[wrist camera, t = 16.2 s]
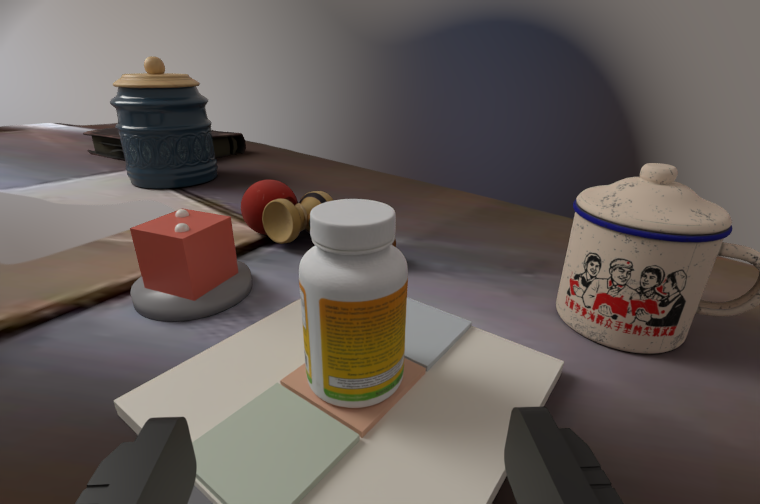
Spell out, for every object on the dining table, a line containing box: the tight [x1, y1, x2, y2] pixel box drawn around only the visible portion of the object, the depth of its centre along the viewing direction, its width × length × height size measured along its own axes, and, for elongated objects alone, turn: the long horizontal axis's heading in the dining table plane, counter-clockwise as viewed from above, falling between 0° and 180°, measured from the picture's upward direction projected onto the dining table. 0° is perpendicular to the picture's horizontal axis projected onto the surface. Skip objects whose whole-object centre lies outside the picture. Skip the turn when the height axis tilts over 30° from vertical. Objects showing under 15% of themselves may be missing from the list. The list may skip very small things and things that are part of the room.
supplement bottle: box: [299, 199, 408, 408], centre depth 22 cm, size 5×5×10 cm
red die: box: [130, 209, 252, 321], centre depth 33 cm, size 9×9×6 cm
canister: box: [110, 57, 218, 189], centre depth 63 cm, size 13×13×18 cm
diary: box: [83, 127, 246, 160], centre depth 84 cm, size 19×25×5 cm
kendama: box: [241, 180, 396, 247], centre depth 43 cm, size 8×6×18 cm
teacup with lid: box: [556, 163, 760, 354], centre depth 29 cm, size 12×9×12 cm
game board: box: [114, 297, 564, 504], centre depth 21 cm, size 26×18×1 cm
